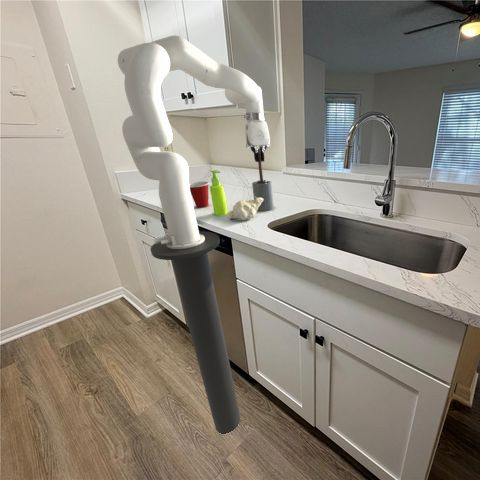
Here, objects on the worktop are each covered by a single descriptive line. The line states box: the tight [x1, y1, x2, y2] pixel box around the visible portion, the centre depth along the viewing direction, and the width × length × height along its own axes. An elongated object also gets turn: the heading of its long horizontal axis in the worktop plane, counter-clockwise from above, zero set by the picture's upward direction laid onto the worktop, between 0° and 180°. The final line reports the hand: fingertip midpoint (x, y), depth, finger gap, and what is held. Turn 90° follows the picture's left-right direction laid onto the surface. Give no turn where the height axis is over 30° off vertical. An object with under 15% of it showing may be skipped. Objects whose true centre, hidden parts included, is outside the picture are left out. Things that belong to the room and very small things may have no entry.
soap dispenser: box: [209, 169, 229, 217], centre depth 118 cm, size 6×7×20 cm
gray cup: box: [251, 180, 274, 212], centre depth 127 cm, size 9×9×13 cm
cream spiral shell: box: [226, 197, 264, 221], centre depth 114 cm, size 15×7×15 cm
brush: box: [256, 148, 268, 184], centre depth 122 cm, size 4×4×19 cm
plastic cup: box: [189, 181, 210, 209], centre depth 133 cm, size 11×11×12 cm
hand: (259, 161), depth 121 cm, fingers closed on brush
